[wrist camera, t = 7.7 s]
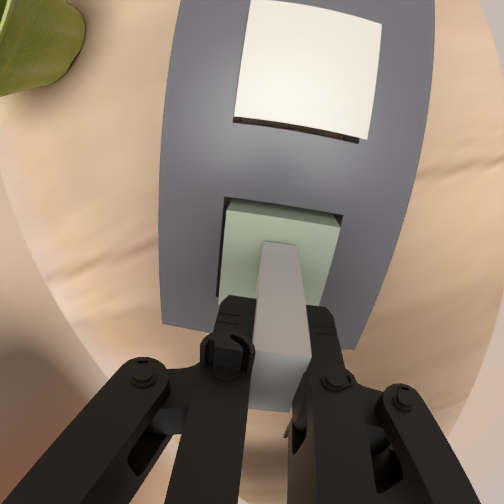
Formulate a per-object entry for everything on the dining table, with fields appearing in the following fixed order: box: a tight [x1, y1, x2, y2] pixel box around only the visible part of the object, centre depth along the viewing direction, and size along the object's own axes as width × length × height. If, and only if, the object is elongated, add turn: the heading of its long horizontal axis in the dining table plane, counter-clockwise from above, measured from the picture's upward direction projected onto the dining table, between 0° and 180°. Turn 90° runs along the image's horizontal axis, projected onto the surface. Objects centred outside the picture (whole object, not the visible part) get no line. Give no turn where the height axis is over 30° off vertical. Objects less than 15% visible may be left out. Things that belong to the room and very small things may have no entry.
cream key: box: [234, 0, 382, 140], centre depth 10 cm, size 5×5×3 cm
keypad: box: [158, 0, 435, 350], centre depth 12 cm, size 29×12×3 cm, turn 173°
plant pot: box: [0, 0, 85, 97], centre depth 8 cm, size 9×9×9 cm
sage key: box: [218, 198, 340, 306], centre depth 15 cm, size 5×5×3 cm
